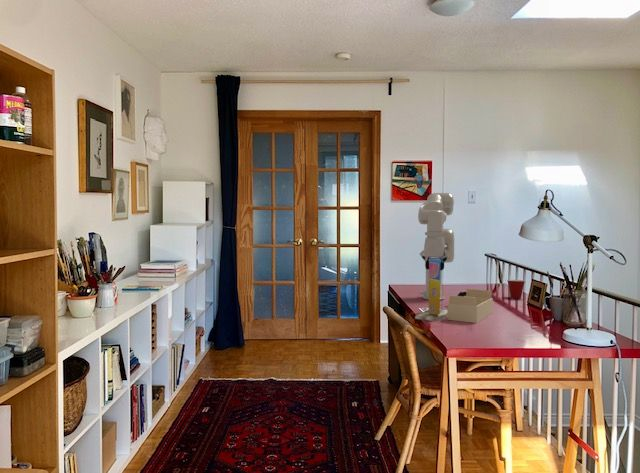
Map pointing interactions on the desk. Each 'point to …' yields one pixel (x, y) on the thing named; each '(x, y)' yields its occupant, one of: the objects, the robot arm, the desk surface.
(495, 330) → the desk surface
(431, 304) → the game box
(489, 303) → the carton
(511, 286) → the plastic cup
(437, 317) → the white glove
